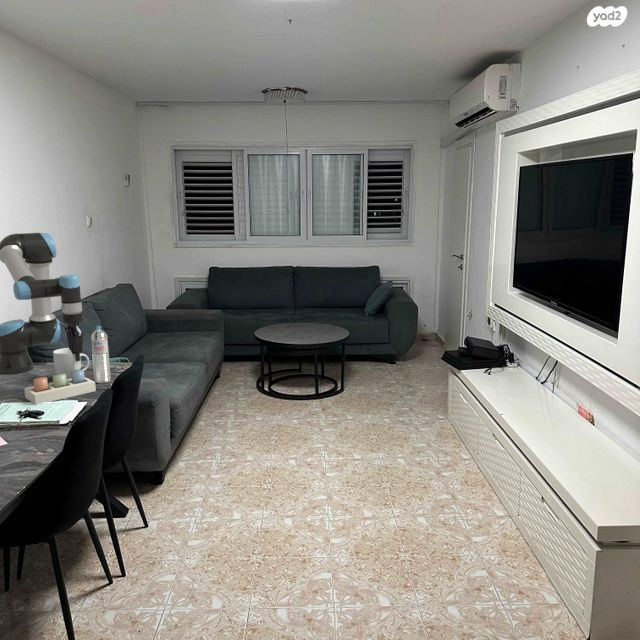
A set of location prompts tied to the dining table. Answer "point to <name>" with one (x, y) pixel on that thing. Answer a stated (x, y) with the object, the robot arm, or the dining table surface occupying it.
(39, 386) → the button terracotta
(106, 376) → the water bottle
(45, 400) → the cream button tray
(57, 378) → the button sage
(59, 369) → the mug
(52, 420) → the dining table surface
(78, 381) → the button blue
